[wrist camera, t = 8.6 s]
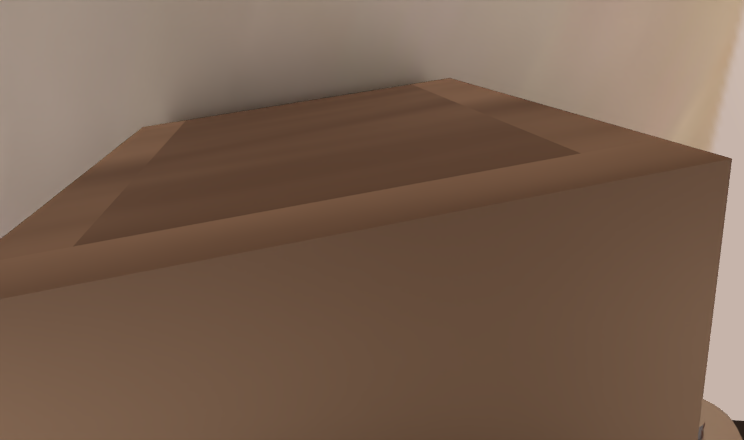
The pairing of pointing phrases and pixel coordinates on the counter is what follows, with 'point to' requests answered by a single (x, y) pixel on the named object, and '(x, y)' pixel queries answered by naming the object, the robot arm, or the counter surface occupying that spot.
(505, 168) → the brown box
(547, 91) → the counter surface
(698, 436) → the robot arm
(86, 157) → the counter surface
